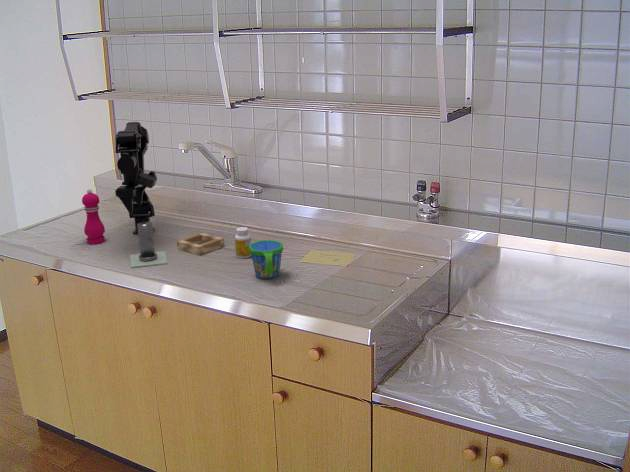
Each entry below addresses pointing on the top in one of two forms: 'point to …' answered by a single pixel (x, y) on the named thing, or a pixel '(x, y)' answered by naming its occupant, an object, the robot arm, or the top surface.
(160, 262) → the rubber mat
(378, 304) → the top surface
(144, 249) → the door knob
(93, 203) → the pepper mill
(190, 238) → the collar block
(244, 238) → the supplement bottle
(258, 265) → the snack cup
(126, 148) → the robot arm
